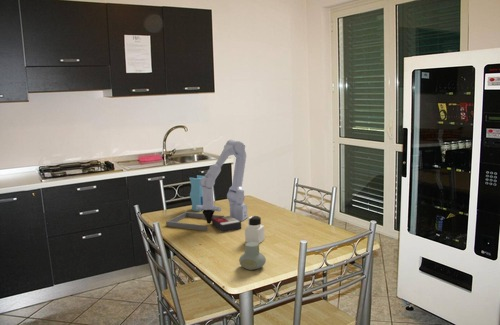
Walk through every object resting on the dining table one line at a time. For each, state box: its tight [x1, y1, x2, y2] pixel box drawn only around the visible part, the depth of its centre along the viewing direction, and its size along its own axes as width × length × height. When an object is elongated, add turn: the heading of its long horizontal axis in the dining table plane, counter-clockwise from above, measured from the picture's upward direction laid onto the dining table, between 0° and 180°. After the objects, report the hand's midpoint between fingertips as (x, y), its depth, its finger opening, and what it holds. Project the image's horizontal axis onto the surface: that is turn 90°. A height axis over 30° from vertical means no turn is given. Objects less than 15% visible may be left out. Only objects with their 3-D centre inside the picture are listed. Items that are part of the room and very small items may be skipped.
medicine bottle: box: [244, 215, 265, 245], centre depth 220 cm, size 7×7×12 cm
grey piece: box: [165, 211, 225, 232], centre depth 252 cm, size 25×20×2 cm
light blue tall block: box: [188, 175, 205, 213], centre depth 278 cm, size 8×8×20 cm
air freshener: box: [238, 242, 267, 271], centre depth 189 cm, size 11×8×10 cm
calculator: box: [211, 215, 242, 233], centre depth 244 cm, size 11×4×15 cm
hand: (209, 223), depth 248 cm, fingers closed
